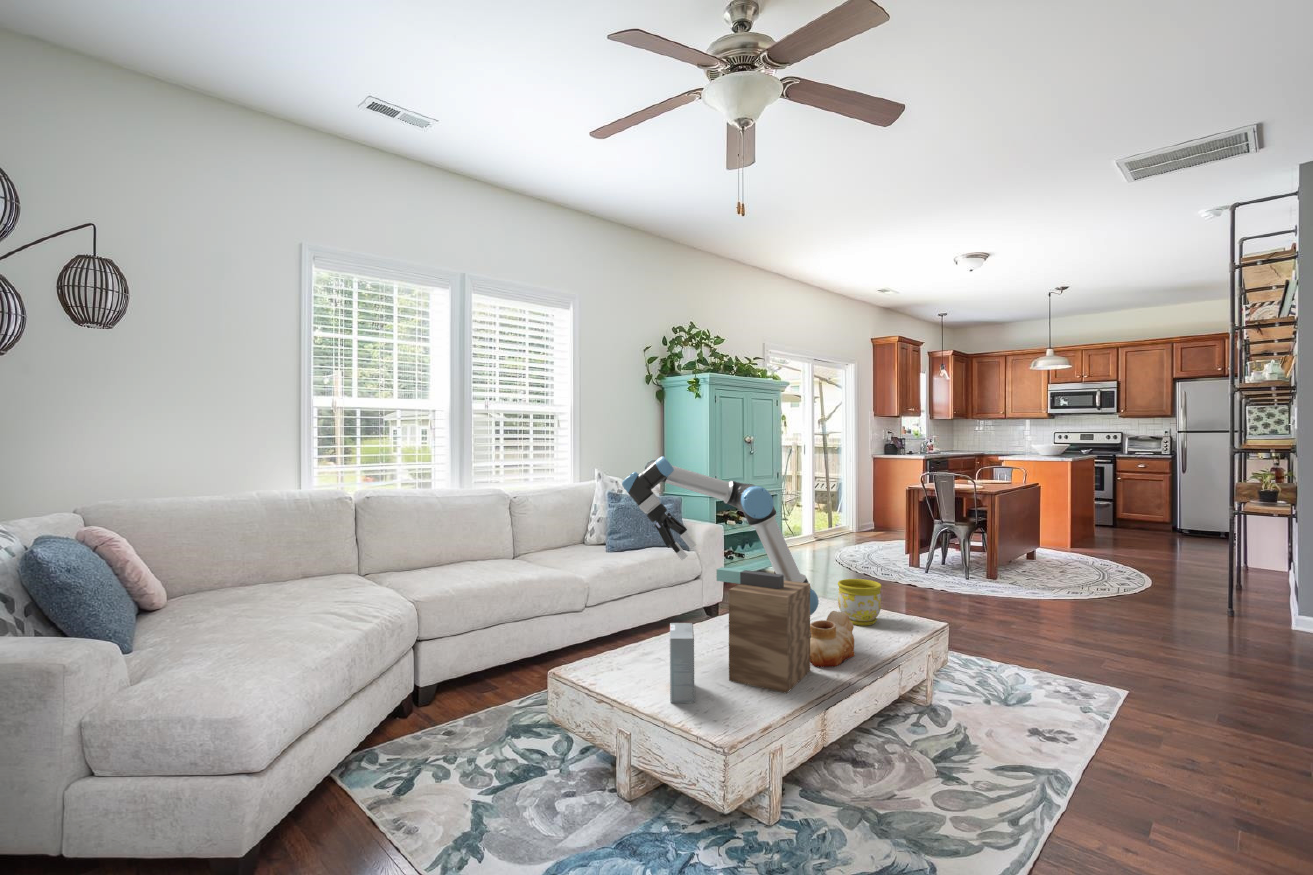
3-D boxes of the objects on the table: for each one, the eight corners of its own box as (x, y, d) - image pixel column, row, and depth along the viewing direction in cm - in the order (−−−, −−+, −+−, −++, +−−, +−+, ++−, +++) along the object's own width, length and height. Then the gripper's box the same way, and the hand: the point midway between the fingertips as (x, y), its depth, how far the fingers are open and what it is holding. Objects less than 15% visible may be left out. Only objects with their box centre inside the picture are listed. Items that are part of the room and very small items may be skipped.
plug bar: (716, 580, 226) (716, 569, 226) (721, 578, 230) (721, 567, 229) (779, 589, 214) (779, 576, 214) (783, 586, 217) (783, 574, 217)
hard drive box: (670, 683, 212) (670, 622, 212) (693, 683, 212) (693, 622, 211) (669, 703, 196) (669, 637, 196) (695, 703, 196) (694, 637, 196)
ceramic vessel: (863, 651, 241) (863, 611, 241) (834, 672, 221) (833, 628, 221) (828, 644, 250) (828, 605, 250) (796, 663, 230) (796, 621, 230)
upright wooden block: (755, 660, 233) (755, 576, 232) (810, 670, 222) (810, 583, 222) (728, 680, 214) (728, 589, 214) (787, 693, 203) (786, 597, 203)
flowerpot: (831, 616, 287) (831, 579, 287) (870, 614, 289) (870, 578, 289) (847, 628, 269) (847, 589, 269) (889, 626, 271) (889, 587, 271)
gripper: (655, 506, 259) (690, 548, 258) (635, 523, 236) (673, 568, 234) (669, 495, 257) (704, 537, 255) (650, 510, 233) (688, 557, 232)
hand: (689, 552), depth 245 cm, fingers open, 13 cm apart
